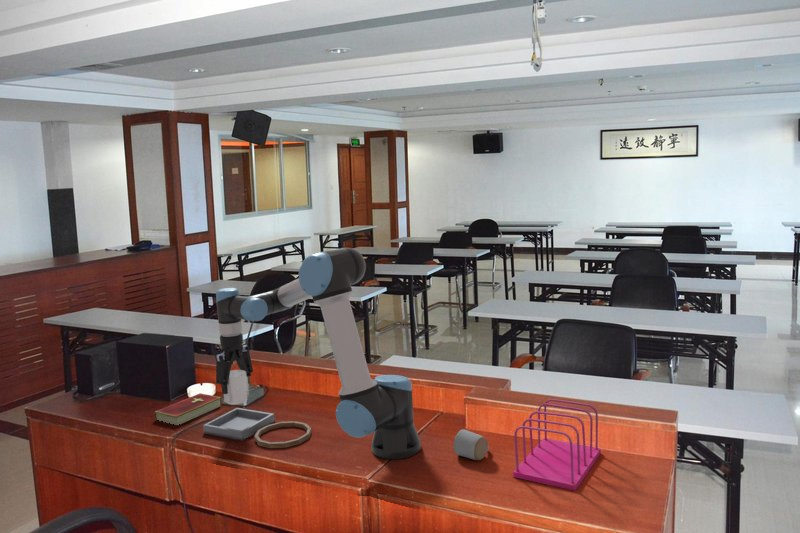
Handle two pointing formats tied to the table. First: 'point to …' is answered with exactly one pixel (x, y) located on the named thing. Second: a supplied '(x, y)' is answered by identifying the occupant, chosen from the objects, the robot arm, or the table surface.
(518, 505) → the table surface
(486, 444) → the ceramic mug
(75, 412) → the table surface
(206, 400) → the hardcover book
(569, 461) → the file sorter
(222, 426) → the tray
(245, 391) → the white cup
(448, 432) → the table surface
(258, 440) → the holder ring
